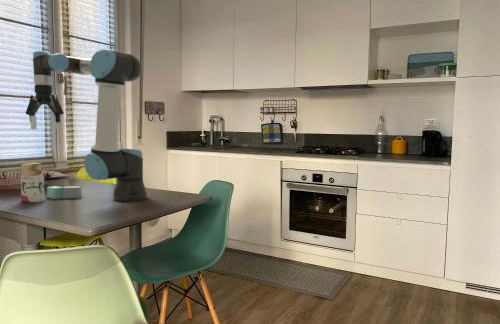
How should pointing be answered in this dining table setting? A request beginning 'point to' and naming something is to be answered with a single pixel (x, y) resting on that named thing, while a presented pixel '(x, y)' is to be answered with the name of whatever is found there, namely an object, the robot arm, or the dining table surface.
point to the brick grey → (72, 192)
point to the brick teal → (55, 192)
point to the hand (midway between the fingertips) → (45, 129)
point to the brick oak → (31, 169)
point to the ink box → (32, 188)
